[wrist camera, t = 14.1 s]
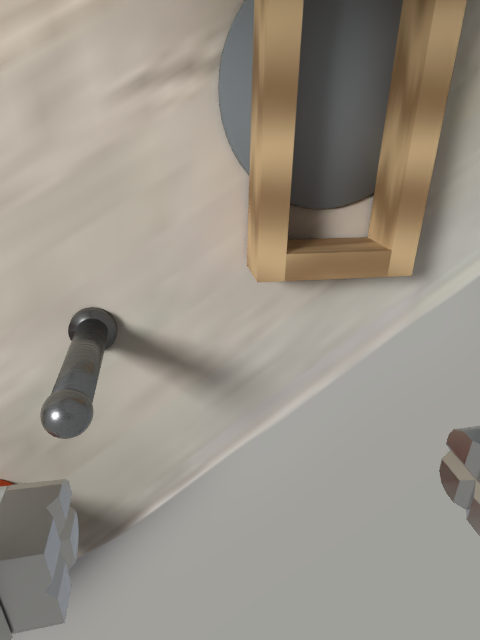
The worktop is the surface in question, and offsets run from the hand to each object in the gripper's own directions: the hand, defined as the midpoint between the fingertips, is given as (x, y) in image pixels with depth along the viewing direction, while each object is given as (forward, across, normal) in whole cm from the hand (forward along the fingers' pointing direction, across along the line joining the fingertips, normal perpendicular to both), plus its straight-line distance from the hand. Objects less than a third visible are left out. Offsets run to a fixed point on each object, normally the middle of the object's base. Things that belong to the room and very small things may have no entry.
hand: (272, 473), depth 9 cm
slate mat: (+26, -10, -8) cm, 29 cm away
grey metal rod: (+26, +8, +9) cm, 28 cm away
